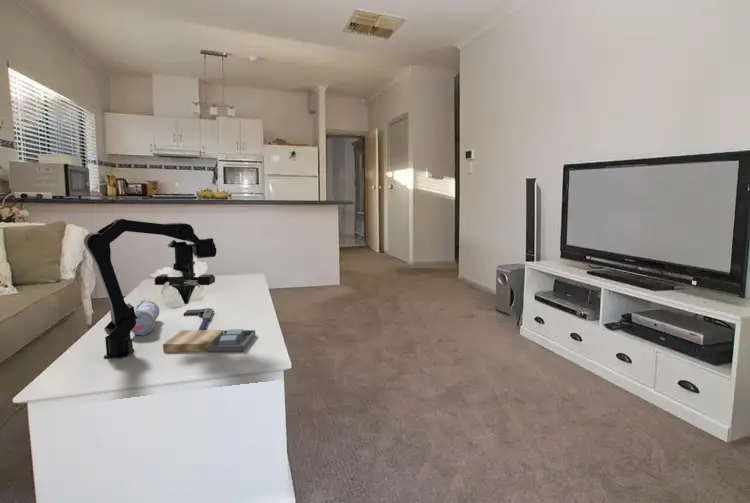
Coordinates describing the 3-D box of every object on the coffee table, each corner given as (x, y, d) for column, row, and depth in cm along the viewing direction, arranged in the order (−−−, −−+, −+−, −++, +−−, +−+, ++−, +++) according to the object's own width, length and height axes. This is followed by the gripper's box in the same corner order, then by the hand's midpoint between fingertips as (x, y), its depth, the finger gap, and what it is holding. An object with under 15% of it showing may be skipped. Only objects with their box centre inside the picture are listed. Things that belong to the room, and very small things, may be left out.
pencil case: (136, 322, 173) (134, 299, 172) (160, 319, 176) (158, 297, 175) (128, 338, 154) (126, 312, 153) (155, 335, 157) (153, 310, 156)
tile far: (225, 341, 149) (225, 334, 149) (229, 336, 154) (228, 329, 154) (240, 340, 150) (240, 333, 149) (243, 335, 155) (243, 329, 154)
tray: (208, 352, 140) (207, 346, 140) (224, 335, 156) (223, 330, 156) (243, 351, 140) (242, 345, 140) (255, 335, 156) (255, 330, 156)
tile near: (219, 348, 143) (219, 340, 142) (222, 342, 147) (221, 335, 147) (235, 347, 143) (235, 339, 143) (237, 341, 148) (237, 334, 148)
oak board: (163, 351, 141) (162, 344, 140) (181, 337, 155) (181, 330, 154) (209, 351, 141) (209, 343, 141) (223, 336, 155) (223, 330, 155)
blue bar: (185, 309, 186) (215, 306, 189) (186, 314, 187) (215, 311, 189) (169, 334, 153) (205, 330, 156) (169, 340, 153) (205, 336, 156)
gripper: (144, 263, 141) (147, 310, 143) (202, 263, 141) (204, 310, 143) (161, 258, 152) (163, 301, 154) (214, 258, 152) (216, 301, 154)
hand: (186, 304), depth 151 cm, fingers closed
